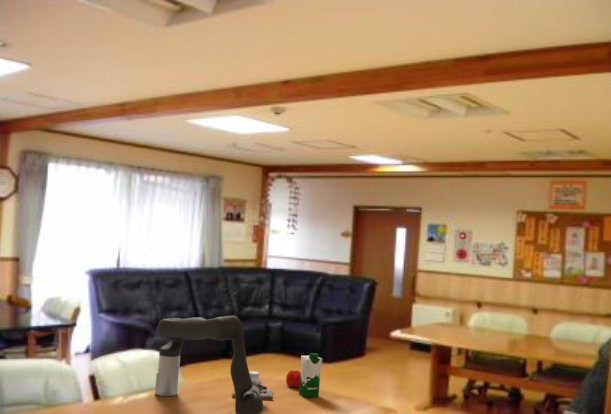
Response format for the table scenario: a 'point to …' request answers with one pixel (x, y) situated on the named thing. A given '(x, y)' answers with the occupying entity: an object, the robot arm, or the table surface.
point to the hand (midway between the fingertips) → (252, 383)
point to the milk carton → (310, 376)
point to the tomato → (293, 379)
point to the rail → (264, 397)
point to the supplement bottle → (255, 377)
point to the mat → (262, 393)
